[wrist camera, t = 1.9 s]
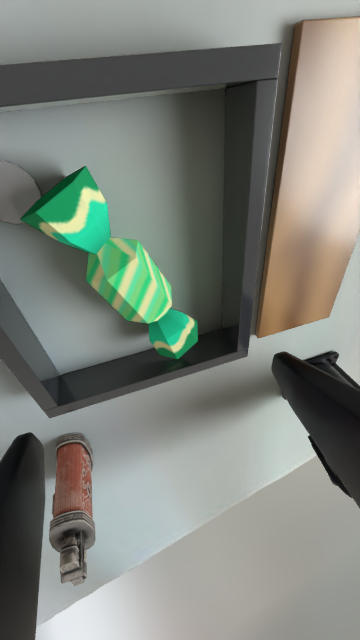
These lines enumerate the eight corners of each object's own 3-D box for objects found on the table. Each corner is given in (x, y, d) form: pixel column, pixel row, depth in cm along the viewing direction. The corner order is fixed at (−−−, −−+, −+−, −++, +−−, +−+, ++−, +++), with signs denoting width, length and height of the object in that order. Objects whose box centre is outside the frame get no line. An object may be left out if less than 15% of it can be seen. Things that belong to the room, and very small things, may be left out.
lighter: (49, 437, 24) (35, 578, 17) (86, 429, 25) (89, 559, 18) (65, 474, 29) (59, 597, 22) (96, 466, 30) (101, 581, 23)
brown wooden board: (427, 15, 13) (439, 11, 13) (324, 313, 26) (329, 317, 25) (294, 23, 12) (302, 19, 11) (254, 334, 25) (258, 338, 24)
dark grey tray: (244, 58, 12) (282, 42, 10) (231, 334, 23) (247, 356, 21) (-149, 92, 9) (-222, 81, 7) (52, 386, 21) (49, 419, 18)
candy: (10, 222, 12) (47, 206, 9) (56, 181, 13) (100, 157, 11) (149, 352, 20) (190, 362, 17) (168, 317, 21) (210, 322, 19)
